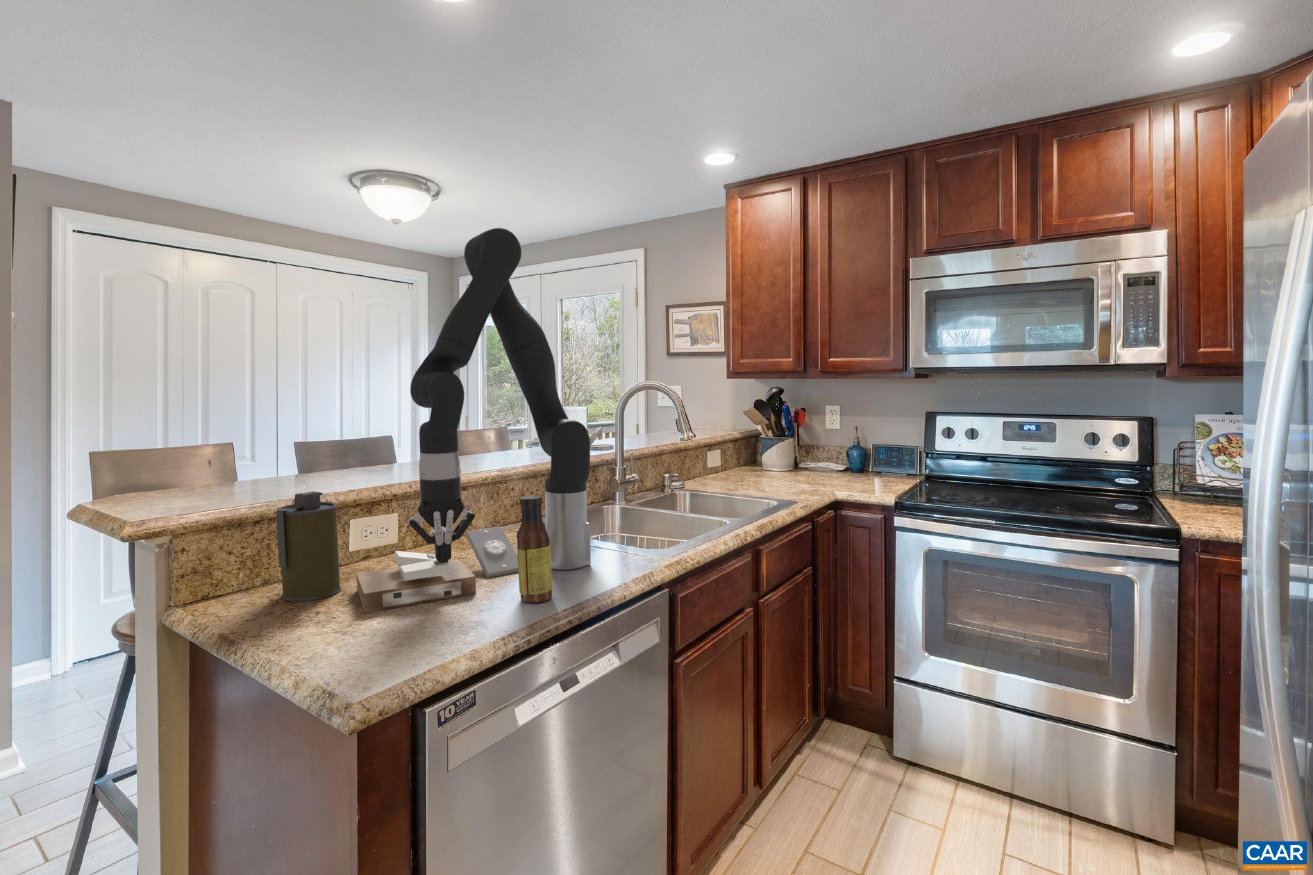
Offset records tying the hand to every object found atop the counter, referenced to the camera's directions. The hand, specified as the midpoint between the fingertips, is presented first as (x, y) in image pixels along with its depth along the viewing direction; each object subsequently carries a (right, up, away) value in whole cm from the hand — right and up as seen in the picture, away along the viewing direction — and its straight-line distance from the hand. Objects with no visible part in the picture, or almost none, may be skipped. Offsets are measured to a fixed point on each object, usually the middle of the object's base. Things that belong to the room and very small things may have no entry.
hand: (443, 562), depth 123 cm
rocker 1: (-7, 0, +5) cm, 9 cm away
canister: (-27, -7, +1) cm, 27 cm away
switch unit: (-6, -6, +2) cm, 9 cm away
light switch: (+5, -5, +18) cm, 20 cm away
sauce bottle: (+19, -7, -2) cm, 20 cm away
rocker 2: (-3, -1, -2) cm, 4 cm away
